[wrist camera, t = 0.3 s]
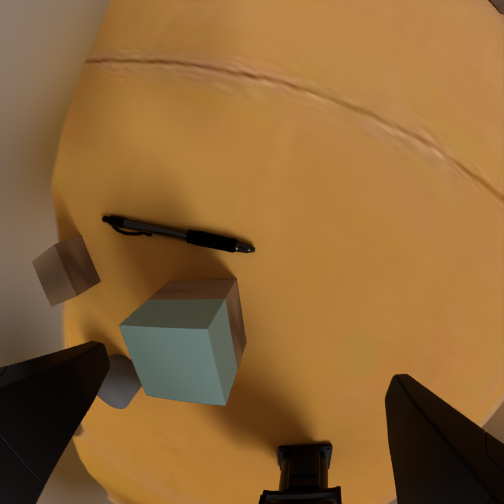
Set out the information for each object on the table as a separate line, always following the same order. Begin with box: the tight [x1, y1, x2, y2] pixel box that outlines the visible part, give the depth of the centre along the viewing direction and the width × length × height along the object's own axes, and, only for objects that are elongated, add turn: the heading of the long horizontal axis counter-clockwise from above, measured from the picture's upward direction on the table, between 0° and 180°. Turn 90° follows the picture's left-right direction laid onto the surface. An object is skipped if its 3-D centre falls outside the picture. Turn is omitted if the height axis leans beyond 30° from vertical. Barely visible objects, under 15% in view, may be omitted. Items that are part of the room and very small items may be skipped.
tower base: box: [148, 278, 246, 369], centre depth 21 cm, size 6×6×4 cm
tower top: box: [119, 299, 238, 406], centre depth 17 cm, size 6×6×4 cm
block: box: [33, 236, 101, 307], centre depth 22 cm, size 5×5×4 cm
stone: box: [97, 354, 142, 409], centre depth 25 cm, size 5×5×4 cm
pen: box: [102, 215, 255, 253], centre depth 21 cm, size 14×2×1 cm, turn 80°
